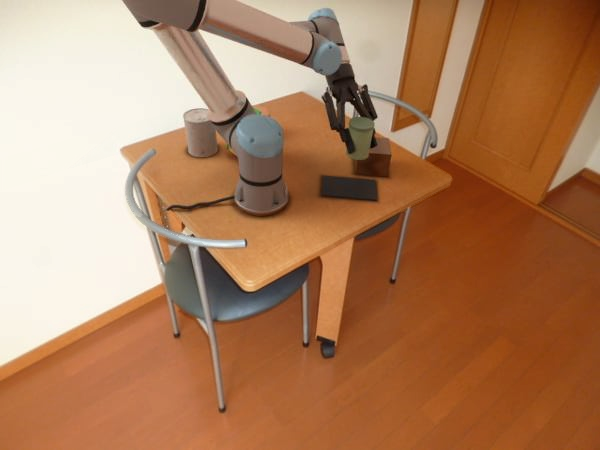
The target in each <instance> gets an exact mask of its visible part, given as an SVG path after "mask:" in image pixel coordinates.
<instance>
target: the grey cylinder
mask: <svg viewBox="0 0 600 450" xmlns="http://www.w3.org/2000/svg"><path fill="white" fill-rule="evenodd" d="M207 112H208V108H203V107H197V108H196V107H195V108H192V109H188V110H186V111H185V112H184V113H183V115H182V118H183V123H184V124H183V125H184V131H185V137H186V143H187V152H188V153H189V155H191V156H192V157H196V158H208V157H211V156H214V155H215V154H216V153H218V151H219V147H218V139H217V131H216V129H215V126H214V125H213V124H212V122H211V121H210V119H209V118H208V116H207Z"/></svg>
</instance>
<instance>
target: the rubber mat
mask: <svg viewBox="0 0 600 450" xmlns="http://www.w3.org/2000/svg"><path fill="white" fill-rule="evenodd" d="M321 197H326V198H338V199H339V198H340V199H351V200H361V201H375V202H376V201H378V197H377V187H376V179H369V178H357V177H345V176H335V175H322V184H321Z"/></svg>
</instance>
